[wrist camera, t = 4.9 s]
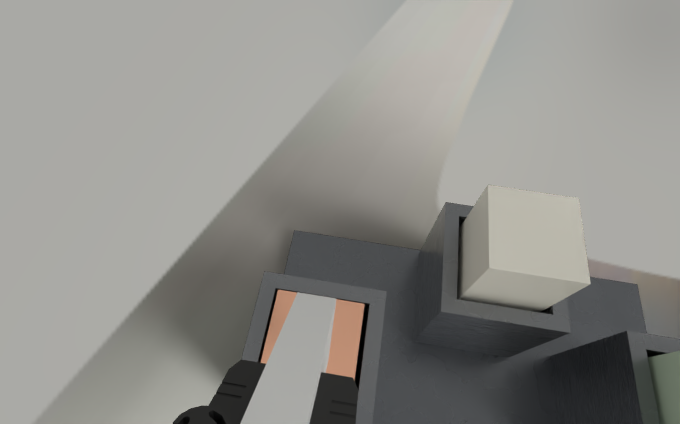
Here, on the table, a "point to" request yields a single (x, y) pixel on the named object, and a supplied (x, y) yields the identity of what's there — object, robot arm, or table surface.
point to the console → (472, 338)
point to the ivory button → (521, 249)
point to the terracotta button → (341, 340)
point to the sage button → (666, 386)
